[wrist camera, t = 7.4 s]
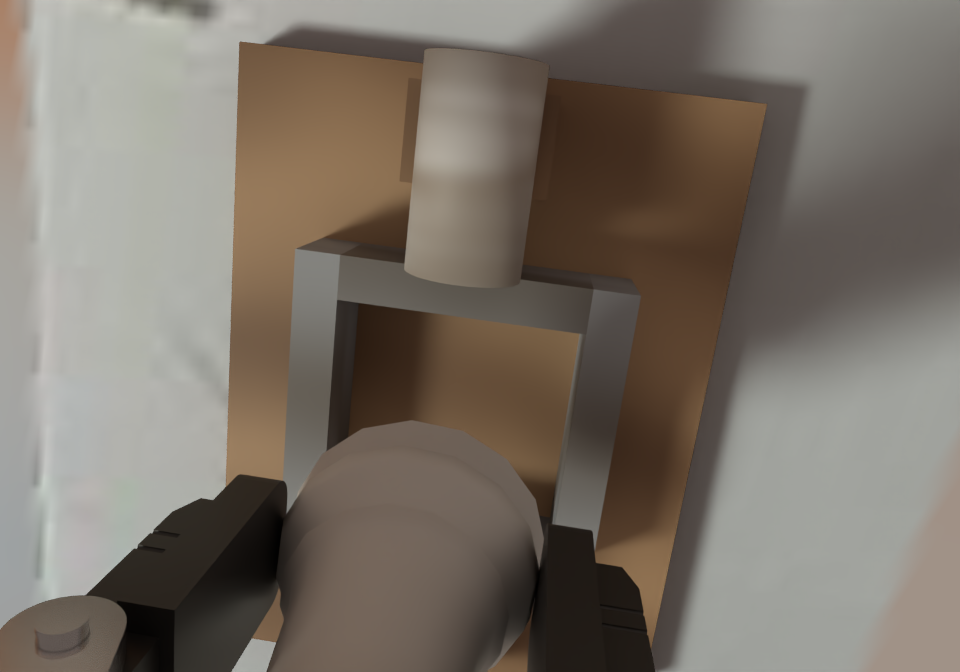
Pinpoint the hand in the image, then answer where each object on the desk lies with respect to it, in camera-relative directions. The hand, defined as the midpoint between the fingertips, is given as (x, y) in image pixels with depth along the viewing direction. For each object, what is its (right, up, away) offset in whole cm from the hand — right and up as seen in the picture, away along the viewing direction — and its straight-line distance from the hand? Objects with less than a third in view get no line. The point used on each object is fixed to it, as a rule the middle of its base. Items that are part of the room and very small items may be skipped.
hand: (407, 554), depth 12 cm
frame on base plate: (+1, +2, +8) cm, 8 cm away
